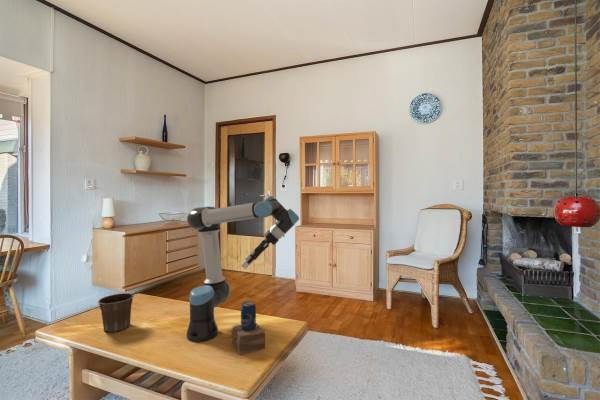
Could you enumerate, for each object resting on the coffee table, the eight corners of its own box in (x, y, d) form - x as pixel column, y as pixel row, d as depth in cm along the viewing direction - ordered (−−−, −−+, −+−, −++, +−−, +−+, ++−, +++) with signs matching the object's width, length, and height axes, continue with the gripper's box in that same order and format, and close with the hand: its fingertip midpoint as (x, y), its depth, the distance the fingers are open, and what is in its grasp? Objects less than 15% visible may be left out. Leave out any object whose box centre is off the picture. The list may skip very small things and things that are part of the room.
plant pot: (96, 327, 161) (96, 297, 161) (130, 318, 172) (129, 290, 172) (101, 337, 149) (100, 306, 149) (137, 328, 160) (136, 298, 159)
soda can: (238, 331, 138) (238, 305, 137) (244, 325, 144) (244, 300, 144) (253, 332, 136) (252, 306, 136) (258, 326, 143) (257, 301, 143)
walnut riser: (232, 343, 143) (232, 326, 143) (256, 337, 149) (255, 321, 148) (239, 355, 132) (239, 337, 132) (265, 348, 138) (264, 331, 138)
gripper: (279, 243, 140) (247, 276, 140) (279, 236, 165) (252, 263, 165) (267, 232, 140) (235, 265, 140) (270, 226, 165) (243, 254, 165)
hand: (245, 264), depth 152 cm, fingers open, 13 cm apart
